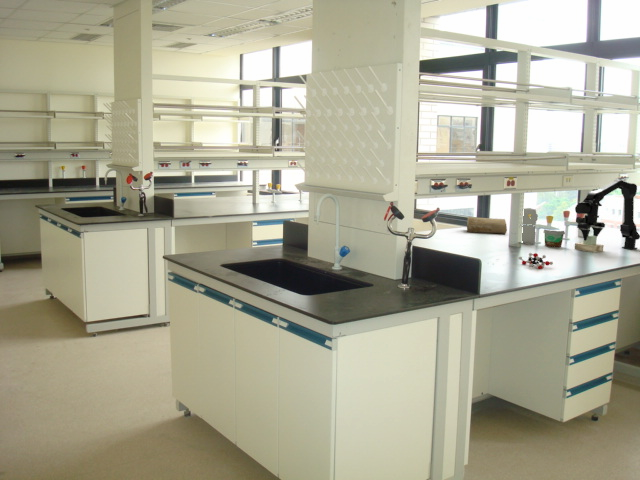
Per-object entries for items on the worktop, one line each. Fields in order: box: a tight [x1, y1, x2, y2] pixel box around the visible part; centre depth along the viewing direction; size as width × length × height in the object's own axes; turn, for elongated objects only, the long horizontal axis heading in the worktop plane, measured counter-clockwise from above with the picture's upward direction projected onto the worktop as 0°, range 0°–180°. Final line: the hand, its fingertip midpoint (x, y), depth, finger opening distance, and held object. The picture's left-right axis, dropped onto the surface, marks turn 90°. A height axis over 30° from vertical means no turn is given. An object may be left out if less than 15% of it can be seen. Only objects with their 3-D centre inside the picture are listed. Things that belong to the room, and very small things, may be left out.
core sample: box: [466, 216, 508, 235], centre depth 420 cm, size 14×26×10 cm, turn 79°
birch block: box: [574, 241, 605, 253], centre depth 360 cm, size 10×12×4 cm
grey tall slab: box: [522, 207, 539, 245], centre depth 376 cm, size 11×4×22 cm, turn 61°
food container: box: [543, 229, 566, 248], centre depth 367 cm, size 12×6×10 cm, turn 62°
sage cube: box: [582, 234, 598, 245], centre depth 359 cm, size 5×5×5 cm
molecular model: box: [518, 252, 554, 270], centre depth 307 cm, size 10×12×15 cm
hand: (589, 239), depth 359 cm, fingers open, 9 cm apart
